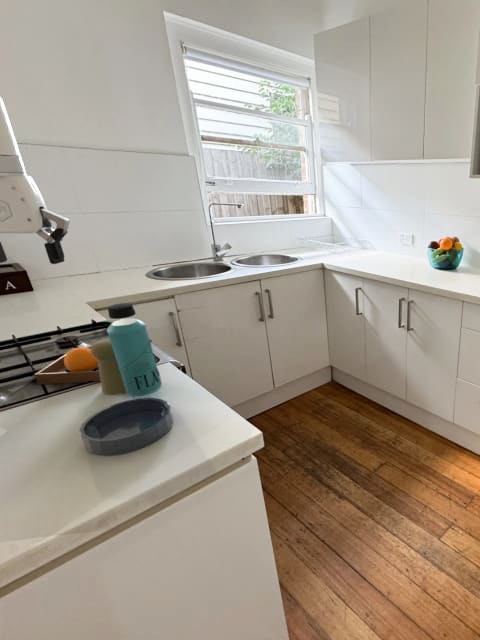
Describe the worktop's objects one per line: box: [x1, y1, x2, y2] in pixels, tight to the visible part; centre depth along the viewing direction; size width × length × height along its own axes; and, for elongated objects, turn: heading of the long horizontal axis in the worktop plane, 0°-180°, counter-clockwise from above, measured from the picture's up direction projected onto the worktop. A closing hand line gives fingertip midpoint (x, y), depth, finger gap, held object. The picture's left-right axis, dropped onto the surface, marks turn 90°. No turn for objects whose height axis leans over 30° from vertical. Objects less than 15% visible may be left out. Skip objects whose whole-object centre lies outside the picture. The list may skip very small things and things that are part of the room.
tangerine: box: [64, 346, 98, 372], centre depth 86 cm, size 6×6×6 cm
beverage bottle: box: [106, 302, 162, 397], centre depth 76 cm, size 6×7×20 cm
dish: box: [78, 397, 175, 457], centre depth 69 cm, size 13×13×3 cm
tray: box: [33, 352, 101, 385], centre depth 89 cm, size 13×11×2 cm
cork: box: [90, 338, 127, 396], centre depth 81 cm, size 6×6×11 cm
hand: (29, 262), depth 74 cm, fingers open, 9 cm apart
